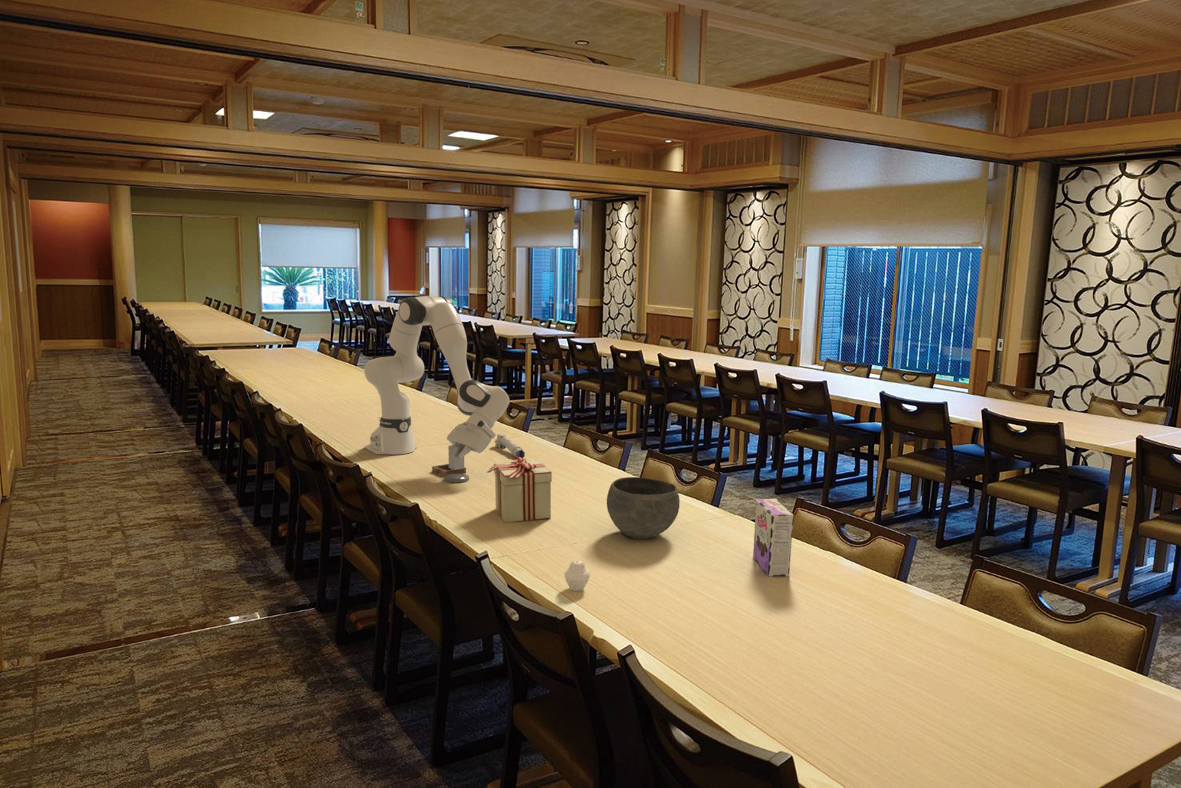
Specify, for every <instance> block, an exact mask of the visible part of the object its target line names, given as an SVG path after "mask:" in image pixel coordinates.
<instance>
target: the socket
mask: <svg viewBox="0 0 1181 788" xmlns="http://www.w3.org/2000/svg"><path fill="white" fill-rule="evenodd" d="M449 469H450V470H449ZM431 472H432V473H434V472H435V473H434V474H436V473H437V475H439V474H440V475H439V476H441V475H442V476H441V477H444V476H446V475H449V474H463V473H464V474H467V468H466V467H465V466H464V468H463V469H457V470H453V469H451V468H449V463H446V464H439V465H433V466H432V467H431Z"/></svg>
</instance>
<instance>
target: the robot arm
mask: <svg viewBox="0 0 1181 788" xmlns="http://www.w3.org/2000/svg"><path fill="white" fill-rule="evenodd" d="M394 317H395V318H394V320H393V323H392V327H391V330H390V334H389V338H388V343H389V345H390V347H391V349H393V351H395V354H394V355H393V356H379V357H377V358H376V357H375V358H373V359H370V360H368V361H367V362H366V364H365V366H364V376H365V379H366V380H367V381H368V383H370V384H372V385H373V387H375V389H376V391H377V393H378V394H379V398H380V406H381V417H380V418H379V419H378V421H379V425H378V426H377V428H376V429H375V430H374V431H373V432H371V434H370V437H369V439H370V441H369V442H370V443H368V444H367V443H366V444H364V448H365V449H366V450H368V451H370V452H371V453H373V454H375V455H405V454H409V453H412V452H414V451H415V450H416V449H417V448H418V447H417V445H416V444H415V438H414V437H415V436H414V429H413V428H412V427H411V425H412V418H411V414H410V411H411V410H410V407H411V405H410V398H409V396H408V395H407V394H406V393H404V392H402V391H401V390H400V389H399V384H401V383H402V384H403V383H411V382H413V381H416V380H419V379H421V378H422V377H423V375H424V373H425V364H424V361H423V359H422V358H421V357H420V356H418V352H417V351H418V349H417V348H418V344H419V339H420V336H421V332H422V328H423V326H431V327H432V331H433V335H434V337H435V340H436V342H437V345H438V347H439V348H440V350H441V352H442V354H443V356H444V358H445V360H446V363H447V365H448V367H449V369H450V372H451V375H452V379H453V381H454V384H455V388H456V392H457V397H456V407H457V409H458V411H460V413H462V414H463V415H465V416H469V417H468V419H467V420H465V421H464V422H462V423H459V424H457V425H455V427H454V428H453V429H452V430H451V431H450V433H448V435H447V436H446V440H447V441H448V442H449V443H450V444H451V445H457V444H459V445H462V446H464V450H462V451H461V452H459V453H458V454H457V457H458V458H460V459H462V458H463V457H464V458H465V456H467V455H468V454H469V453H470V452H471V451H472V452H475V453H477V454H481V453H482V452H484V451H485V450H486V449H487V447H488V446H489V444H490V443H491V441H492V439H495V437H496V436H497V433H496V432H495V431H494V430H493V427H494V425H495V423H496V422H497V421H498V420H499V419H500V418H501V417H502V416H503V415H504V412H506V410H507V408H508V406H509V405H510V396H509V395H508V393H507V391H505V389H503V388H502V387H501V386H499V385H494V386H493V385H488V384H484V383H481V382H480V381H478V380H475V379H472V377H471V374H470V371H469V367H468V363H467V352H468V351H467V350H468V341H467V340H468V339H467V334H466V331H465V327H464V323H463V322H462V320H461V318H460V315H459V312H458V311H457V310H456V308H455V306H454V303H453V301H452V300H451V299H450V298H449V297H446V296H441V295H438V296H436V295H435V296H434V295H421V296H415V297H414V296H410V297H406V298H404V299H402V300H401V302H400V303H399V306H398V309H397V313H396V315H395V316H394Z"/></svg>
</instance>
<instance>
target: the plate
mask: <svg viewBox="0 0 1181 788" xmlns="http://www.w3.org/2000/svg"><path fill="white" fill-rule="evenodd" d="M445 481H446V482H445ZM466 481H467V482H469V481H470V475H468V474H466V473H464V474H449V475H446V476H443V482H445V483H448V482H451V483H450V484H460V483H459V482H462V483H466Z"/></svg>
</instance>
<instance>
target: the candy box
mask: <svg viewBox="0 0 1181 788" xmlns="http://www.w3.org/2000/svg"><path fill="white" fill-rule="evenodd" d="M754 514H755V516H754V533H753V535H754V539H753V550H752V551H753V553H752V555H753V556H752V558H753V559H754V560H755V562H756V563H757V564H758V566H759V567H760V568H761V569H762V571H763V572H764V573H765V574H766V576H767V577H775V578H776V577H777V578H778V577H779V578H780V577H782V578H783V577H784V578H787V577H790V572H791V571H790V570H791V569H790V567H791V555H792V540H793V527H794V514H793V513H792V512H791V511H789V510H788V509H787V508H786V507H785V506H784V505H783V504H782V503H781V502H780V501H779V500H778V499H777V498H757V499H755V513H754Z"/></svg>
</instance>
